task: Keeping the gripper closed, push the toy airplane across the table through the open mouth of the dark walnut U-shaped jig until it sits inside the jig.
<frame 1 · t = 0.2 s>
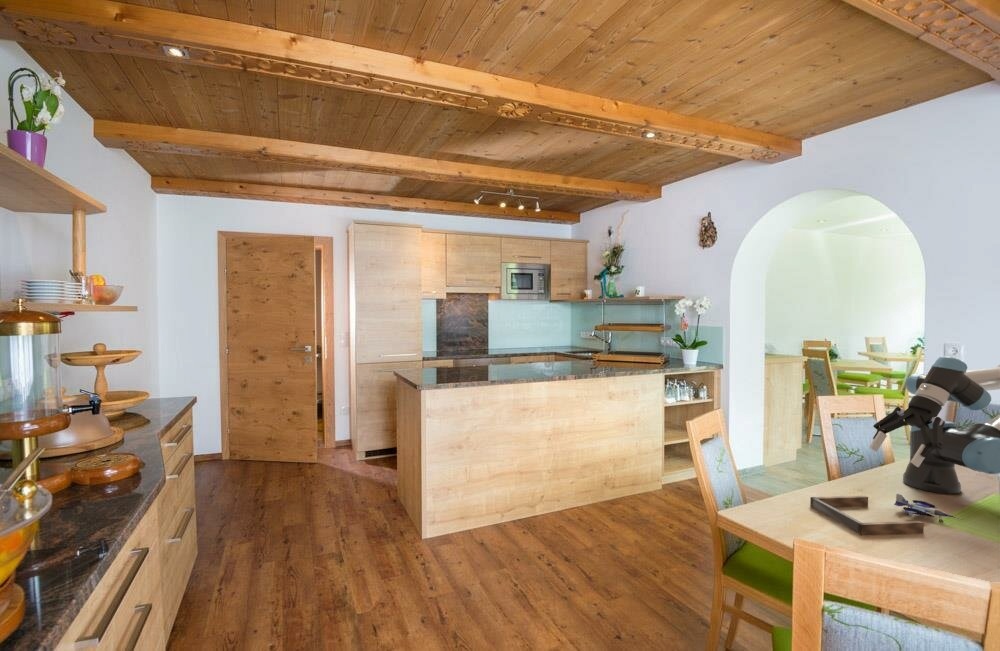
hand: (892, 457, 151), 15 cm above the table, tool tilted 35°, fingers open, 13 cm apart
toy airplane: (923, 518, 142), on the table
jig: (865, 519, 141), on the table
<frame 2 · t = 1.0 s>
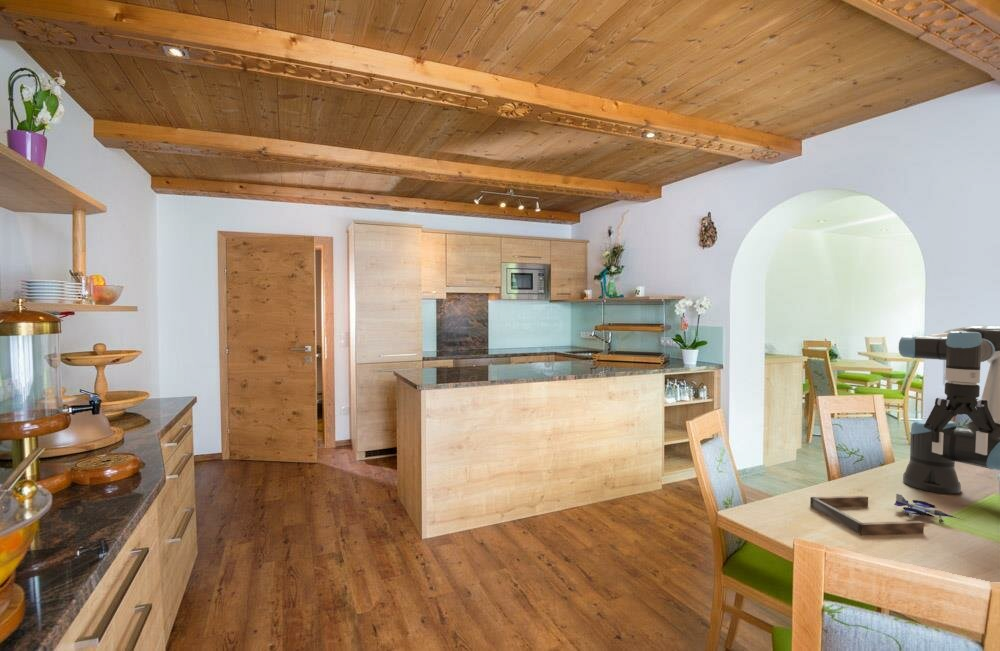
hand: (959, 453, 143), 19 cm above the table, tool pointing down, fingers open, 13 cm apart
nothing on the table moved.
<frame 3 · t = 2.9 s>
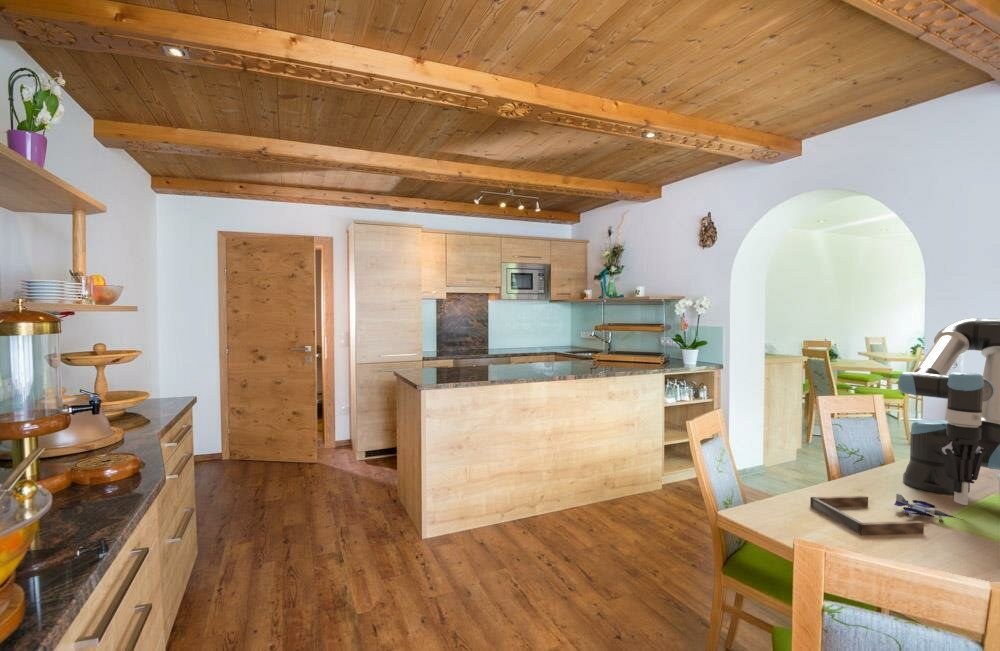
hand: (960, 502, 143), 4 cm above the table, tool pointing down, fingers closed
nothing on the table moved.
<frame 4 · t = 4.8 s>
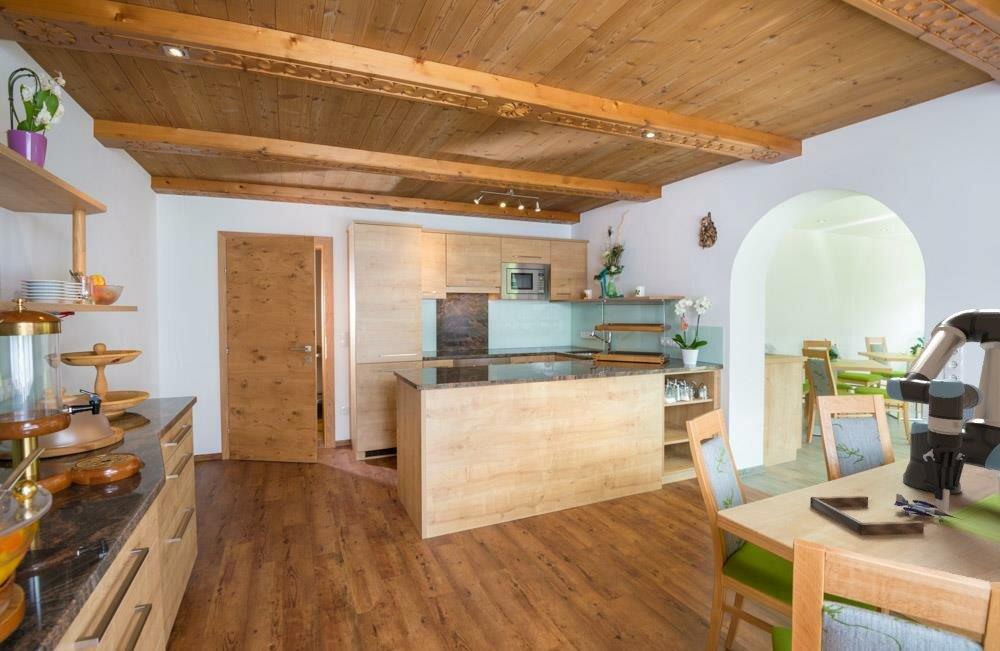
hand: (942, 510, 142), 2 cm above the table, tool pointing down, fingers closed
toy airplane: (923, 518, 142), on the table, touching gripper
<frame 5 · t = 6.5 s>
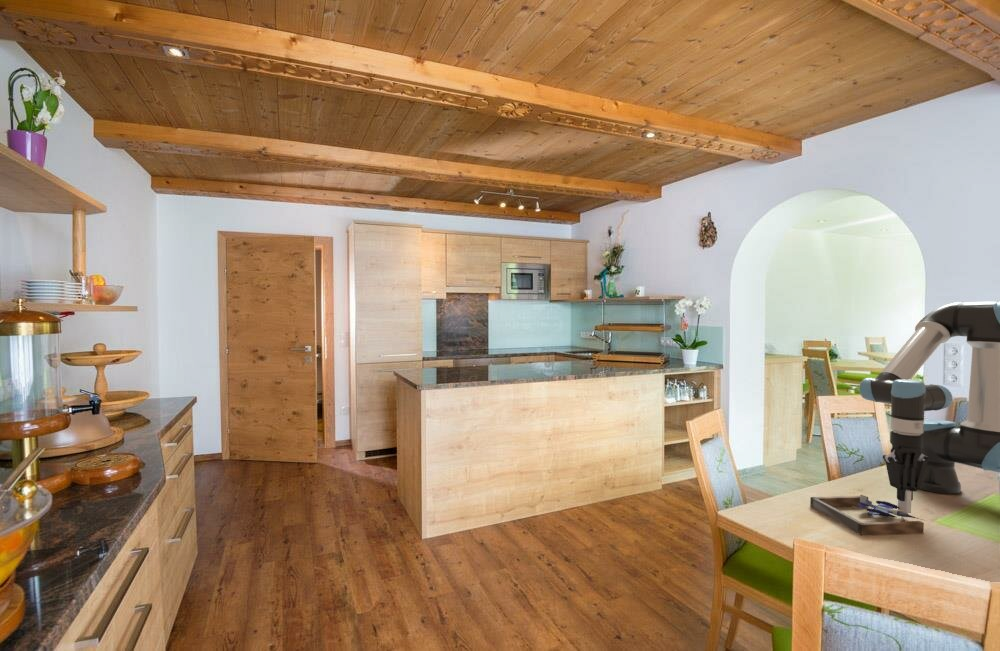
hand: (904, 511, 142), 2 cm above the table, tool pointing down, fingers closed
toy airplane: (886, 519, 141), on the table, touching gripper
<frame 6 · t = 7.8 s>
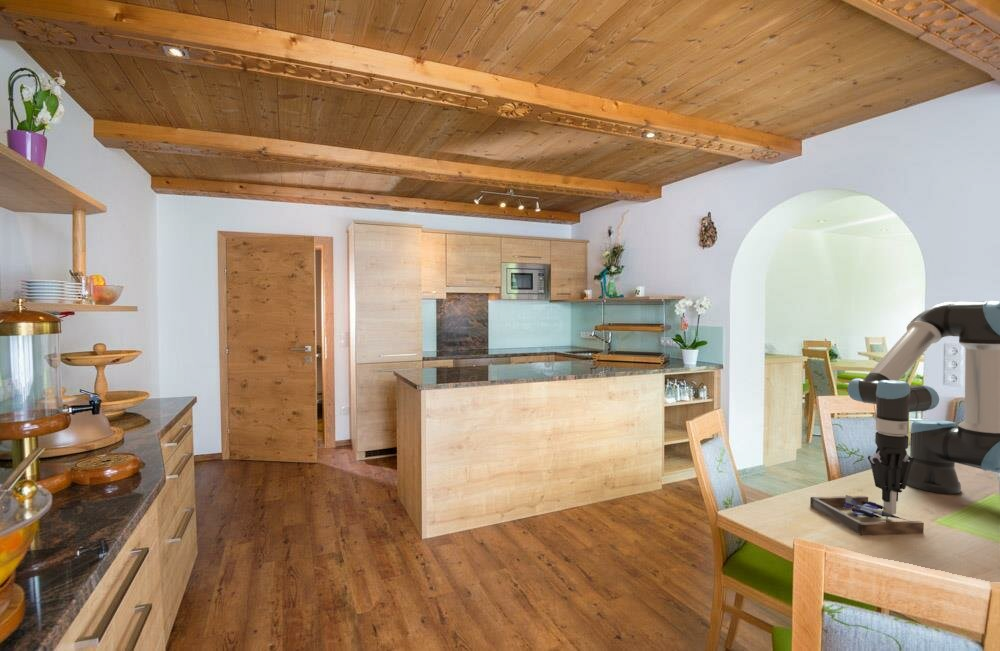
hand: (889, 512, 141), 2 cm above the table, tool pointing down, fingers closed
toy airplane: (871, 519, 141), on the table, touching gripper
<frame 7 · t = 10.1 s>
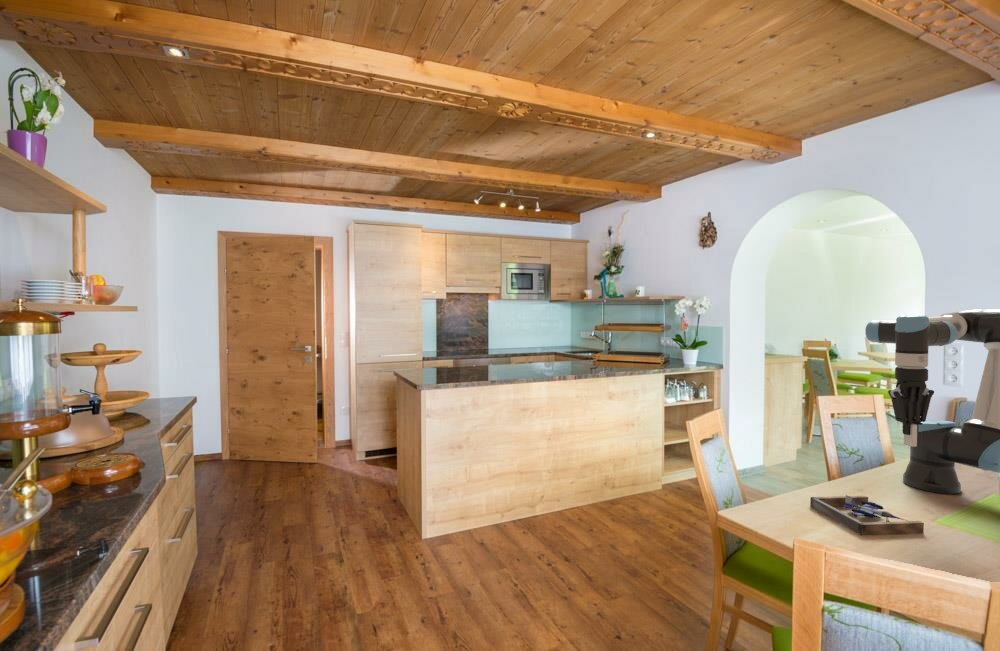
hand: (910, 445, 143), 21 cm above the table, tool pointing down, fingers closed
toy airplane: (871, 520, 141), on the table
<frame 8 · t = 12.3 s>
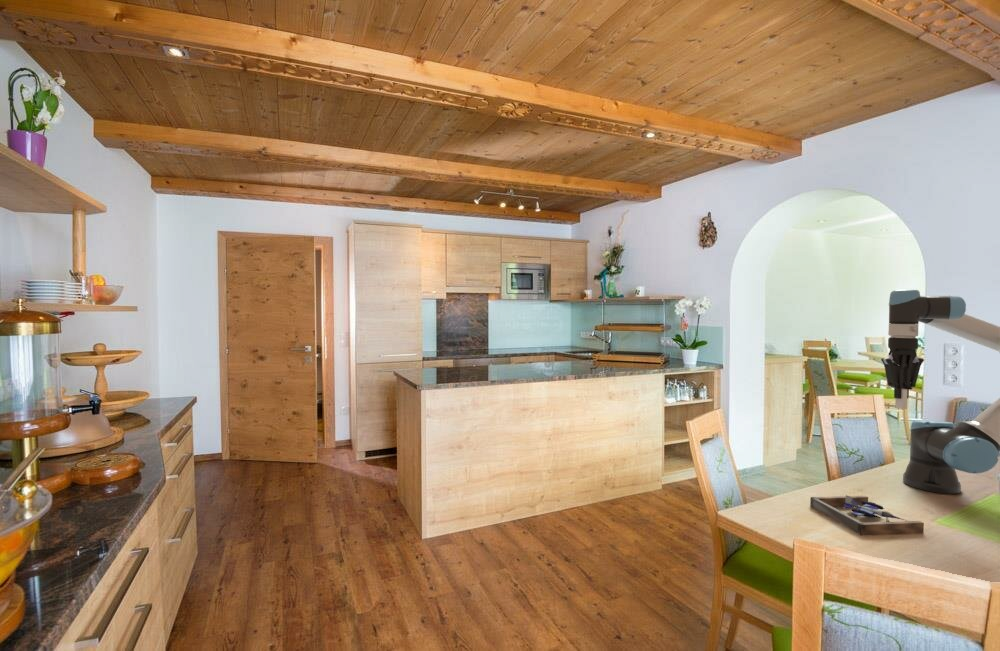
hand: (900, 408, 157), 29 cm above the table, tool pointing down, fingers closed
nothing on the table moved.
at the end: toy airplane inside the target area on the jig (3.8 cm from its centre), point 0.0 cm above the jig's base; toy airplane tilted 2°; toy airplane moved 16.5 cm from its start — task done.
